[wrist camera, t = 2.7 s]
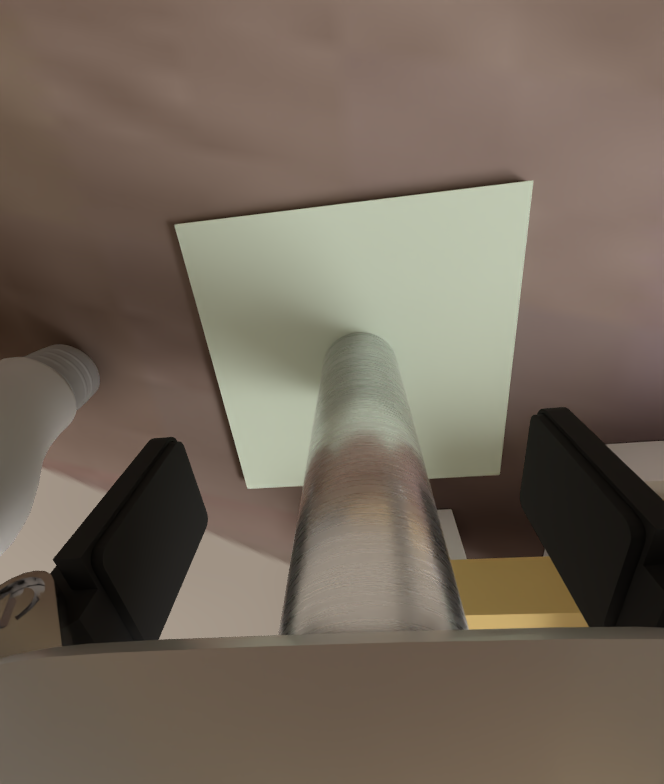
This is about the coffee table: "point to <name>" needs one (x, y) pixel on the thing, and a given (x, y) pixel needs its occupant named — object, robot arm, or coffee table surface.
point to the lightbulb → (35, 422)
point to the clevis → (532, 566)
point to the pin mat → (365, 317)
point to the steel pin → (367, 509)
